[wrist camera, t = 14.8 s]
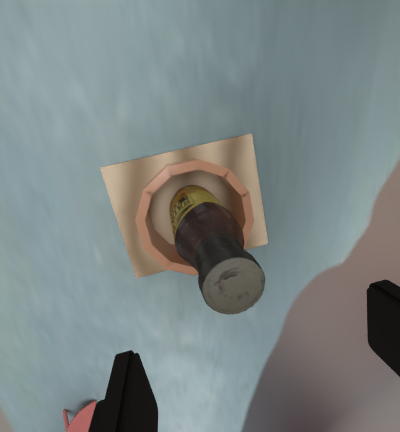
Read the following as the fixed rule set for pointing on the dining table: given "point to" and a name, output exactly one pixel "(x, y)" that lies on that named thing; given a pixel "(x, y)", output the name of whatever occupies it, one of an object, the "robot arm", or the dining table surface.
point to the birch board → (160, 201)
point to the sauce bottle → (215, 250)
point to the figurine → (80, 419)
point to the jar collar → (167, 251)
